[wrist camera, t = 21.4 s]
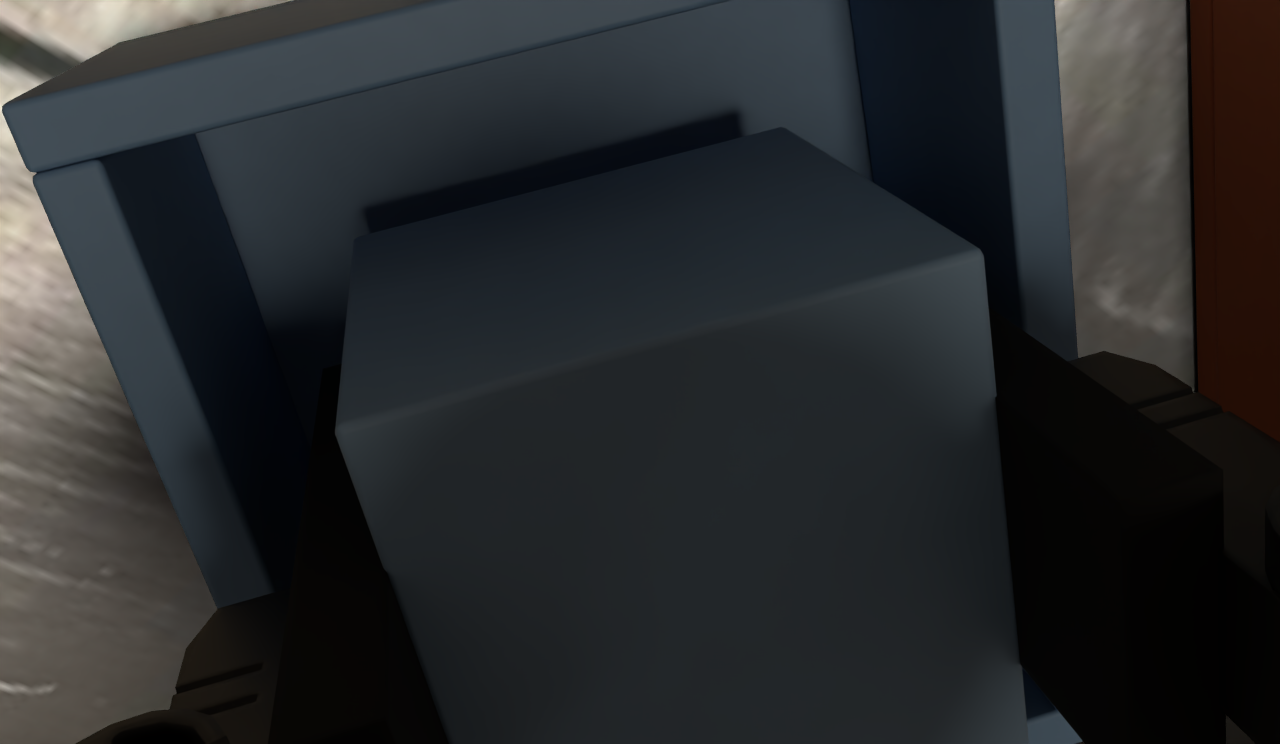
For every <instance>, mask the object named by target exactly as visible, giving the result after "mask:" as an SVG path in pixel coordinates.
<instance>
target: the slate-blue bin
mask: <svg viewBox="0 0 1280 744" xmlns="http://www.w3.org/2000/svg"><path fill="white" fill-rule="evenodd" d="M2 113H3V115H4V117H5V120H6V122H7V124H8V127H9V129H10V131H11V134H12V136H13V138H14V140H15V143H16V145H17V147H18V150H19V152H20V154H21V157H22V159H23V161H24V164H25V166H26V168H27V169H28V170H29V171H30V172H36V173H37V174H35V175H34V176H33V184H34V186H35V189H36V191H37V193H38V196H39V198H40V200H41V203H42V205H43V207H44V209H45V212H46V214H47V216H48V219H49V221H50V223H51V226H52V228H53V230H54V233H55V235H56V237H57V239H58V242H59V244H60V246H61V249H62V251H63V253H64V256H65V258H66V260H67V263H68V265H69V267H70V269H71V272H72V274H73V276H74V279H75V281H76V283H77V286H78V288H79V290H80V293H81V295H82V297H83V299H84V302H85V304H86V306H87V309H88V311H89V313H90V316H91V318H92V320H93V323H94V325H95V327H96V329H97V332H98V334H99V336H100V339H101V341H102V343H103V346H104V348H105V350H106V353H107V355H108V357H109V359H110V362H111V364H112V366H113V369H114V371H115V373H116V376H117V378H118V380H119V383H120V385H121V387H122V389H123V392H124V394H125V396H126V399H127V401H128V403H129V406H130V408H131V410H132V413H133V415H134V417H135V419H136V422H137V424H138V426H139V429H140V431H141V433H142V436H143V438H144V440H145V443H146V445H147V447H148V449H149V452H150V454H151V456H152V459H153V461H154V463H155V466H156V468H157V470H158V473H159V475H160V477H161V479H162V482H163V484H164V486H165V489H166V491H167V493H168V496H169V498H170V500H171V503H172V505H173V507H174V510H175V512H176V514H177V516H178V519H179V521H180V523H181V526H182V528H183V530H184V533H185V535H186V537H187V540H188V542H189V544H190V546H191V549H192V551H193V553H194V556H195V558H196V560H197V563H198V565H199V567H200V570H201V572H202V574H203V576H204V579H205V581H206V583H207V586H208V588H209V590H210V593H211V595H212V597H213V600H214V602H215V604H216V606H217V609H218V608H221V607H225V606H228V605H232V604H235V603H239V602H242V601H246V600H249V599H253V598H256V597H260V596H263V595H267V594H270V593H274V592H277V591H281V590H284V589H288V588H291V582H292V575H293V569H294V562H295V555H296V548H297V541H298V534H299V528H300V521H301V514H302V507H303V500H304V493H305V487H306V480H307V473H308V466H309V459H310V453H311V446H312V439H313V432H314V425H315V418H316V412H317V405H318V398H319V391H320V384H321V377H322V371H323V369H324V368H327V367H331V366H335V365H339V364H342V356H343V346H344V336H345V326H346V315H347V305H348V295H349V285H350V275H351V265H352V255H353V244H354V240H355V239H356V238H357V237H359V236H363V235H367V234H371V233H375V232H379V231H383V230H386V229H390V228H394V227H398V226H402V225H406V224H409V223H413V222H417V221H421V220H425V219H429V218H433V217H436V216H440V215H444V214H448V213H452V212H456V211H459V210H463V209H467V208H471V207H475V206H479V205H483V204H486V203H490V202H494V201H498V200H502V199H506V198H509V197H513V196H517V195H521V194H525V193H529V192H533V191H536V190H540V189H544V188H548V187H552V186H556V185H559V184H563V183H567V182H571V181H575V180H579V179H583V178H586V177H590V176H594V175H598V174H602V173H606V172H609V171H613V170H617V169H621V168H625V167H629V166H633V165H636V164H640V163H644V162H648V161H652V160H656V159H660V158H663V157H667V156H671V155H675V154H679V153H683V152H686V151H690V150H694V149H698V148H702V147H706V146H710V145H713V144H717V143H721V142H725V141H729V140H733V139H736V138H740V137H744V136H748V135H752V134H756V133H760V132H763V131H767V130H771V129H775V128H779V127H784V128H787V129H788V130H790V131H791V132H793V133H795V134H796V135H798V136H799V137H801V138H803V139H804V140H806V141H807V142H809V143H811V144H812V145H814V146H815V147H817V148H819V149H820V150H822V151H823V152H825V153H827V154H828V155H830V156H832V157H833V158H835V159H836V160H838V161H840V162H841V163H843V164H844V165H846V166H848V167H849V168H851V169H852V170H854V171H856V172H857V173H859V174H860V175H862V176H864V177H865V178H867V179H868V180H870V181H872V182H873V183H875V184H876V185H878V186H880V187H881V188H883V189H884V190H886V191H888V192H889V193H891V194H892V195H894V196H896V197H897V198H899V199H900V200H902V201H904V202H905V203H907V204H909V205H910V206H912V207H913V208H915V209H917V210H918V211H920V212H921V213H923V214H925V215H926V216H928V217H929V218H931V219H933V220H934V221H936V222H937V223H939V224H941V225H942V226H944V227H945V228H947V229H949V230H950V231H952V232H953V233H955V234H957V235H958V236H960V237H961V238H963V239H965V240H966V241H968V242H969V243H971V244H973V245H974V246H976V247H978V248H979V249H980V250H981V252H982V253H983V255H984V264H985V275H986V286H987V296H988V306H989V307H990V308H991V309H993V310H994V311H996V312H997V313H999V314H1000V315H1001V316H1003V317H1004V318H1006V319H1007V320H1009V321H1010V322H1012V323H1013V324H1014V325H1016V326H1017V327H1019V328H1020V329H1022V330H1023V331H1024V332H1026V333H1027V334H1029V335H1030V336H1032V337H1033V338H1035V339H1036V340H1037V341H1039V342H1040V343H1042V344H1043V345H1045V346H1046V347H1047V348H1049V349H1050V350H1052V351H1053V352H1055V353H1056V354H1058V355H1059V356H1060V357H1062V358H1063V359H1065V360H1066V361H1071V360H1074V359H1078V352H1077V337H1076V322H1075V307H1074V292H1073V277H1072V262H1071V247H1070V231H1069V216H1068V201H1067V186H1066V171H1065V156H1064V141H1063V126H1062V111H1061V96H1060V81H1059V66H1058V51H1057V36H1056V21H1055V6H1054V0H295V1H291V2H287V3H283V4H279V5H274V6H270V7H266V8H262V9H258V10H254V11H249V12H245V13H241V14H237V15H233V16H229V17H224V18H220V19H216V20H212V21H208V22H204V23H199V24H195V25H191V26H187V27H183V28H179V29H174V30H170V31H166V32H162V33H158V34H154V35H149V36H145V37H141V38H137V39H133V40H128V41H124V42H120V43H118V44H116V45H114V46H112V47H111V48H109V49H107V50H105V51H103V52H101V53H99V54H97V55H96V56H94V57H92V58H90V59H88V60H86V61H84V62H82V63H80V64H79V65H77V66H75V67H73V68H71V69H69V70H67V71H65V72H63V73H62V74H60V75H58V76H56V77H54V78H52V79H50V80H48V81H46V82H45V83H43V84H41V85H39V86H37V87H35V88H33V89H31V90H30V91H28V92H26V93H24V94H22V95H20V96H18V97H16V98H14V99H13V100H11V101H9V102H7V103H6V104H4V105H3V106H2ZM1022 674H1023V685H1024V695H1025V706H1026V717H1027V728H1028V739H1029V744H1076V743H1079V742H1082V739H1081V738H1080V737H1079V736H1078V735H1077V733H1076V732H1075V731H1074V730H1073V728H1072V727H1071V726H1070V725H1069V723H1068V722H1067V721H1066V720H1065V719H1064V717H1063V716H1062V715H1061V714H1060V712H1059V711H1058V710H1057V709H1056V707H1055V706H1054V705H1053V704H1052V702H1051V701H1050V700H1049V699H1048V698H1047V696H1046V695H1045V694H1044V693H1043V691H1042V690H1041V689H1040V688H1039V686H1038V685H1037V684H1036V683H1035V682H1034V680H1033V679H1032V678H1031V677H1030V675H1029V674H1028V673H1027V672H1026V670H1025V669H1024V668H1023V667H1022Z"/></svg>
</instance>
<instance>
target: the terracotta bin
mask: <svg viewBox="0 0 1280 744" xmlns="http://www.w3.org/2000/svg"><path fill="white" fill-rule="evenodd" d="M1190 26H1191V73H1192V121H1193V168H1194V215H1195V263H1196V310H1197V357H1198V392H1200V393H1201V394H1203V395H1204V396H1206V397H1208V398H1209V399H1211V400H1212V401H1214V402H1216V403H1217V404H1219V405H1220V406H1222V410H1223V412H1227V411H1230V412H1232V413H1233V414H1235V415H1237V416H1238V417H1240V418H1241V419H1243V420H1245V421H1246V422H1248V423H1250V424H1251V425H1253V426H1254V427H1256V428H1258V429H1259V430H1261V431H1262V432H1264V433H1266V434H1267V435H1269V436H1270V437H1272V438H1274V439H1275V440H1277V441H1279V442H1280V0H1190Z"/></svg>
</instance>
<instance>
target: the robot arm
mask: <svg viewBox="0 0 1280 744" xmlns="http://www.w3.org/2000/svg"><path fill="white" fill-rule="evenodd" d="M988 307H989V306H988ZM989 318H990V329H991V339H992V350H993V361H994V372H995V383H996V393H997V396H996V397H995V399H996V410H997V421H998V431H999V442H1000V453H1001V463H1002V474H1003V485H1004V495H1005V506H1006V517H1007V528H1008V538H1009V549H1010V560H1011V570H1012V581H1013V592H1014V603H1015V613H1016V624H1017V635H1018V645H1019V656H1020V664H1021V666H1022V667H1023V668H1024V669H1025V670H1026V672H1027V673H1028V674H1029V675H1030V677H1031V678H1032V679H1033V680H1034V682H1035V683H1036V684H1037V685H1038V686H1039V688H1040V689H1041V690H1042V691H1043V693H1044V694H1045V695H1046V696H1047V698H1048V699H1049V700H1050V701H1051V702H1052V704H1053V705H1054V706H1055V707H1056V709H1057V710H1058V711H1059V712H1060V714H1061V715H1062V716H1063V717H1064V719H1065V720H1066V721H1067V722H1068V723H1069V725H1070V726H1071V727H1072V728H1073V730H1074V731H1075V732H1076V733H1077V735H1078V736H1079V737H1080V738H1081V739H1082V741H1083V742H1084V743H1085V744H1226V715H1227V716H1228V717H1229V718H1230V719H1231V720H1232V721H1233V722H1234V723H1235V724H1236V725H1237V726H1238V727H1239V728H1240V729H1241V730H1242V731H1243V732H1244V733H1245V734H1246V735H1247V736H1248V737H1249V738H1250V739H1251V740H1252V741H1254V742H1255V743H1256V744H1280V442H1279V441H1277V440H1275V439H1274V438H1272V437H1270V436H1269V435H1267V434H1266V433H1264V432H1262V431H1261V430H1259V429H1258V428H1256V427H1254V426H1253V425H1251V424H1250V423H1248V422H1246V421H1245V420H1243V419H1241V418H1240V417H1238V416H1237V415H1235V414H1233V413H1232V412H1230V411H1227V412H1223V410H1222V406H1220V405H1219V404H1217V403H1216V402H1214V401H1212V400H1211V399H1209V398H1208V397H1206V396H1204V395H1203V394H1201V393H1200V392H1196V393H1193V392H1192V389H1191V387H1190V386H1188V385H1187V384H1185V383H1183V382H1182V381H1180V380H1179V379H1177V378H1175V377H1174V376H1172V375H1171V374H1169V373H1167V372H1166V371H1164V370H1162V369H1161V368H1159V367H1158V366H1156V365H1154V364H1150V363H1146V362H1143V361H1139V360H1135V359H1131V358H1128V357H1124V356H1120V355H1117V354H1113V353H1109V352H1106V351H1102V352H1099V353H1095V354H1092V355H1088V356H1085V357H1081V358H1078V359H1074V360H1071V361H1066V360H1065V359H1063V358H1062V357H1060V356H1059V355H1058V354H1056V353H1055V352H1053V351H1052V350H1050V349H1049V348H1047V347H1046V346H1045V345H1043V344H1042V343H1040V342H1039V341H1037V340H1036V339H1035V338H1033V337H1032V336H1030V335H1029V334H1027V333H1026V332H1024V331H1023V330H1022V329H1020V328H1019V327H1017V326H1016V325H1014V324H1013V323H1012V322H1010V321H1009V320H1007V319H1006V318H1004V317H1003V316H1001V315H1000V314H999V313H997V312H996V311H994V310H993V309H991V308H990V307H989ZM341 366H342V364H339V365H335V366H331V367H327V368H324V369H323V371H322V377H321V384H320V391H319V398H318V405H317V412H316V418H315V425H314V432H313V439H312V446H311V453H310V459H309V466H308V473H307V480H306V487H305V493H304V500H303V507H302V514H301V521H300V528H299V534H298V541H297V548H296V555H295V562H294V569H293V575H292V582H291V588H288V589H284V590H281V591H277V592H274V593H270V594H267V595H263V596H260V597H256V598H253V599H249V600H246V601H242V602H239V603H235V604H232V605H228V606H225V607H221V608H218V609H217V610H216V612H215V613H214V614H213V615H212V617H211V618H210V619H209V620H208V622H207V623H206V624H205V625H204V627H203V628H202V629H201V630H200V632H199V633H198V634H197V635H196V637H195V638H194V639H193V640H192V642H191V643H190V644H189V645H188V647H187V648H186V651H185V654H184V658H183V662H182V665H181V669H180V673H179V676H178V680H177V684H176V687H175V688H176V691H177V694H176V695H173V698H172V702H171V706H170V709H169V710H159V711H150V712H147V713H144V714H141V715H138V716H135V717H132V718H129V719H126V720H123V721H120V722H117V723H114V724H111V725H109V726H107V727H105V728H103V729H102V730H100V731H98V732H96V733H94V734H92V735H91V736H89V737H87V738H85V739H83V740H81V741H80V742H78V743H76V744H449V743H448V740H447V737H446V735H445V732H444V729H443V726H442V724H441V721H440V718H439V715H438V712H437V710H436V707H435V704H434V701H433V699H432V696H431V693H430V690H429V687H428V685H427V682H426V679H425V676H424V673H423V671H422V668H421V665H420V662H419V660H418V657H417V654H416V651H415V648H414V646H413V643H412V640H411V637H410V635H409V632H408V629H407V626H406V623H405V621H404V618H403V615H402V612H401V610H400V607H399V604H398V601H397V598H396V596H395V593H394V590H393V587H392V585H391V582H390V579H389V576H388V573H387V572H386V571H385V570H384V568H383V566H382V563H381V560H380V557H379V554H378V552H377V549H376V546H375V543H374V541H373V538H372V535H371V532H370V530H369V527H368V524H367V521H366V518H365V516H364V513H363V510H362V507H361V505H360V502H359V499H358V496H357V493H356V491H355V488H354V485H353V482H352V480H351V477H350V474H349V471H348V468H347V466H346V463H345V460H344V457H343V455H342V452H341V449H340V446H339V444H338V441H337V438H336V435H335V427H336V417H337V407H338V397H339V386H340V376H341Z"/></svg>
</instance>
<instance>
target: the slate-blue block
mask: <svg viewBox="0 0 1280 744" xmlns="http://www.w3.org/2000/svg"><path fill="white" fill-rule="evenodd" d="M996 396H997V393H996V383H995V372H994V361H993V350H992V339H991V329H990V318H989V307H988V296H987V286H986V275H985V264H984V255H983V253H982V252H981V250H980V249H979V248H978V247H976V246H974V245H973V244H971V243H969V242H968V241H966V240H965V239H963V238H961V237H960V236H958V235H957V234H955V233H953V232H952V231H950V230H949V229H947V228H945V227H944V226H942V225H941V224H939V223H937V222H936V221H934V220H933V219H931V218H929V217H928V216H926V215H925V214H923V213H921V212H920V211H918V210H917V209H915V208H913V207H912V206H910V205H909V204H907V203H905V202H904V201H902V200H900V199H899V198H897V197H896V196H894V195H892V194H891V193H889V192H888V191H886V190H884V189H883V188H881V187H880V186H878V185H876V184H875V183H873V182H872V181H870V180H868V179H867V178H865V177H864V176H862V175H860V174H859V173H857V172H856V171H854V170H852V169H851V168H849V167H848V166H846V165H844V164H843V163H841V162H840V161H838V160H836V159H835V158H833V157H832V156H830V155H828V154H827V153H825V152H823V151H822V150H820V149H819V148H817V147H815V146H814V145H812V144H811V143H809V142H807V141H806V140H804V139H803V138H801V137H799V136H798V135H796V134H795V133H793V132H791V131H790V130H788V129H787V128H784V127H779V128H775V129H771V130H767V131H763V132H760V133H756V134H752V135H748V136H744V137H740V138H736V139H733V140H729V141H725V142H721V143H717V144H713V145H710V146H706V147H702V148H698V149H694V150H690V151H686V152H683V153H679V154H675V155H671V156H667V157H663V158H660V159H656V160H652V161H648V162H644V163H640V164H636V165H633V166H629V167H625V168H621V169H617V170H613V171H609V172H606V173H602V174H598V175H594V176H590V177H586V178H583V179H579V180H575V181H571V182H567V183H563V184H559V185H556V186H552V187H548V188H544V189H540V190H536V191H533V192H529V193H525V194H521V195H517V196H513V197H509V198H506V199H502V200H498V201H494V202H490V203H486V204H483V205H479V206H475V207H471V208H467V209H463V210H459V211H456V212H452V213H448V214H444V215H440V216H436V217H433V218H429V219H425V220H421V221H417V222H413V223H409V224H406V225H402V226H398V227H394V228H390V229H386V230H383V231H379V232H375V233H371V234H367V235H363V236H359V237H357V238H356V239H355V240H354V244H353V255H352V265H351V275H350V285H349V295H348V305H347V315H346V326H345V336H344V346H343V356H342V366H341V376H340V386H339V397H338V407H337V417H336V427H335V435H336V438H337V441H338V444H339V446H340V449H341V452H342V455H343V457H344V460H345V463H346V466H347V468H348V471H349V474H350V477H351V480H352V482H353V485H354V488H355V491H356V493H357V496H358V499H359V502H360V505H361V507H362V510H363V513H364V516H365V518H366V521H367V524H368V527H369V530H370V532H371V535H372V538H373V541H374V543H375V546H376V549H377V552H378V554H379V557H380V560H381V563H382V566H383V568H384V570H385V571H386V572H387V573H388V576H389V579H390V582H391V585H392V587H393V590H394V593H395V596H396V598H397V601H398V604H399V607H400V610H401V612H402V615H403V618H404V621H405V623H406V626H407V629H408V632H409V635H410V637H411V640H412V643H413V646H414V648H415V651H416V654H417V657H418V660H419V662H420V665H421V668H422V671H423V673H424V676H425V679H426V682H427V685H428V687H429V690H430V693H431V696H432V699H433V701H434V704H435V707H436V710H437V712H438V715H439V718H440V721H441V724H442V726H443V729H444V732H445V735H446V737H447V740H448V743H449V744H1029V739H1028V728H1027V717H1026V706H1025V695H1024V685H1023V674H1022V666H1021V664H1020V656H1019V645H1018V635H1017V624H1016V613H1015V603H1014V592H1013V581H1012V570H1011V560H1010V549H1009V538H1008V528H1007V517H1006V506H1005V495H1004V485H1003V474H1002V463H1001V453H1000V442H999V431H998V421H997V410H996V399H995V397H996Z"/></svg>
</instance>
